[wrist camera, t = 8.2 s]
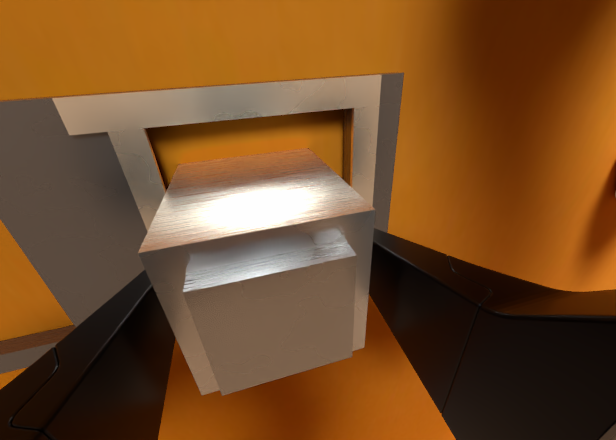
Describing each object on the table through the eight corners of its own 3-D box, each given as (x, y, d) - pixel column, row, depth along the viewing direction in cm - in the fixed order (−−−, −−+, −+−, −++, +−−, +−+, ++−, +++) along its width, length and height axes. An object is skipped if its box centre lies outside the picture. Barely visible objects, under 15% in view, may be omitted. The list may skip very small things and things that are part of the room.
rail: (392, 72, 11) (407, 72, 10) (375, 272, 15) (383, 283, 15) (-637, 145, 6) (-788, 158, 5) (-187, 402, 11) (-223, 431, 10)
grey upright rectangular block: (307, 146, 11) (388, 221, 6) (312, 245, 14) (373, 364, 8) (179, 162, 10) (128, 272, 5) (209, 266, 13) (200, 418, 7)
